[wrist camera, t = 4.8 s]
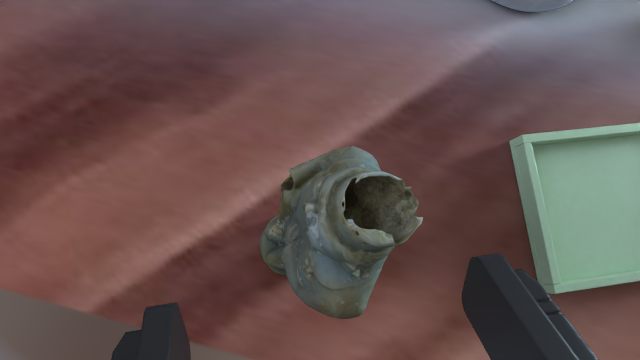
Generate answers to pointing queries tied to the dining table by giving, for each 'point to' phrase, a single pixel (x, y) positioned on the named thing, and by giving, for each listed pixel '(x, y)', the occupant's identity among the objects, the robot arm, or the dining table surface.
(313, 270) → the figurine
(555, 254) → the tray
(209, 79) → the dining table surface
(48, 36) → the dining table surface
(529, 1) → the planter
